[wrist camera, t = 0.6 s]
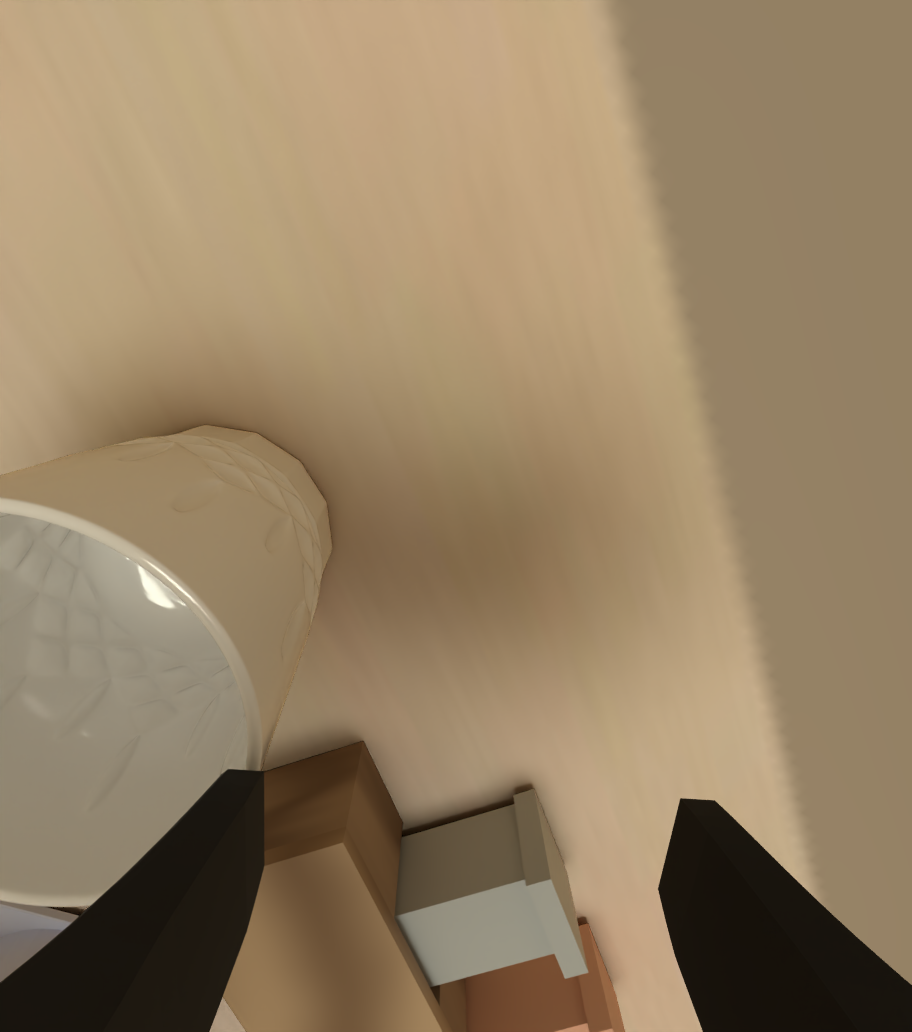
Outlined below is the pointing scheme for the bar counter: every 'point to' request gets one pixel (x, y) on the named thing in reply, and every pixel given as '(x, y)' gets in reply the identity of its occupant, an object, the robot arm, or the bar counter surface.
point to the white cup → (142, 642)
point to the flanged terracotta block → (544, 997)
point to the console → (333, 912)
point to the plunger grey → (487, 895)
